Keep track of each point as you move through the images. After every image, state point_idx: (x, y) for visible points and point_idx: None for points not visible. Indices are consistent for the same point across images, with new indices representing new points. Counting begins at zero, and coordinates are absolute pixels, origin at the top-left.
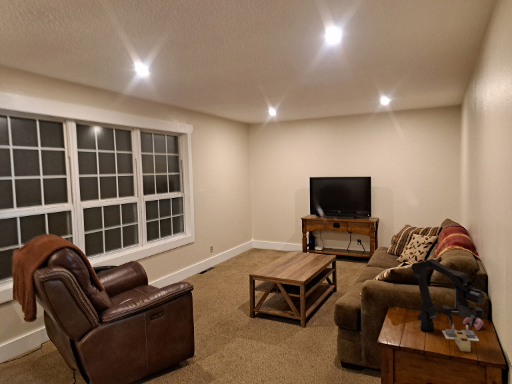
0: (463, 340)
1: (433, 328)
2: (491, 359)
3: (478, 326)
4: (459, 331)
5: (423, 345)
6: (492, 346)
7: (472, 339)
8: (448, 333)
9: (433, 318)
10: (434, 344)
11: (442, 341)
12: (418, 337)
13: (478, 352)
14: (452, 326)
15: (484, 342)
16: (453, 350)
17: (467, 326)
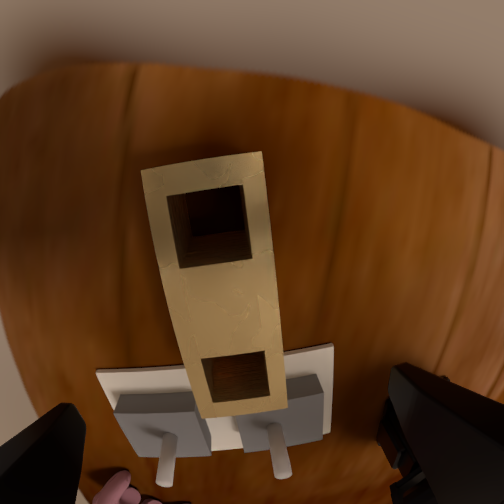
0: (213, 255)
1: (387, 424)
2: (40, 101)
3: (113, 487)
4: (235, 408)
5: (490, 189)
6: (24, 314)
7: (137, 379)
8: (317, 392)
9: (400, 483)
10: (434, 223)
11: (371, 293)
12: (487, 295)
13: (104, 181)
14: (286, 458)
15: (68, 359)
16: (315, 151)
17: (161, 474)
